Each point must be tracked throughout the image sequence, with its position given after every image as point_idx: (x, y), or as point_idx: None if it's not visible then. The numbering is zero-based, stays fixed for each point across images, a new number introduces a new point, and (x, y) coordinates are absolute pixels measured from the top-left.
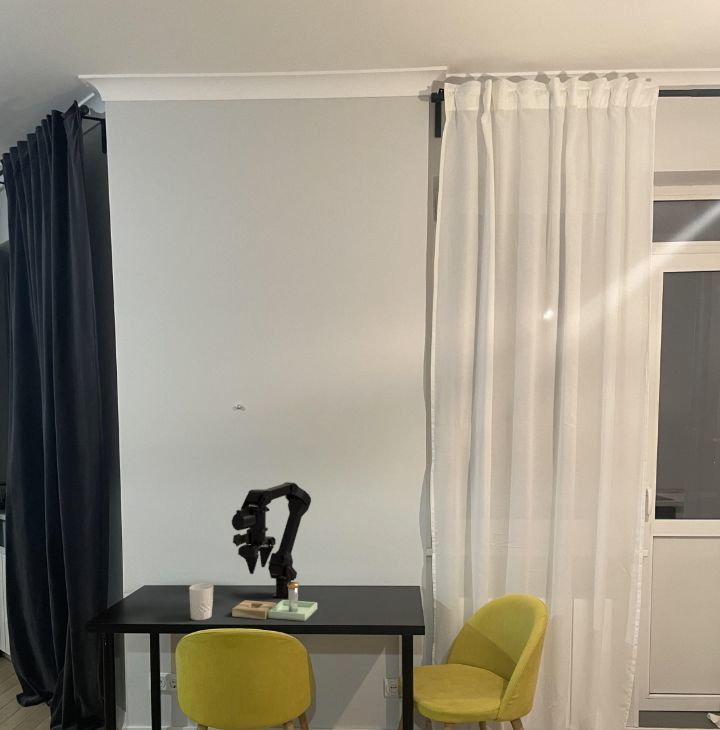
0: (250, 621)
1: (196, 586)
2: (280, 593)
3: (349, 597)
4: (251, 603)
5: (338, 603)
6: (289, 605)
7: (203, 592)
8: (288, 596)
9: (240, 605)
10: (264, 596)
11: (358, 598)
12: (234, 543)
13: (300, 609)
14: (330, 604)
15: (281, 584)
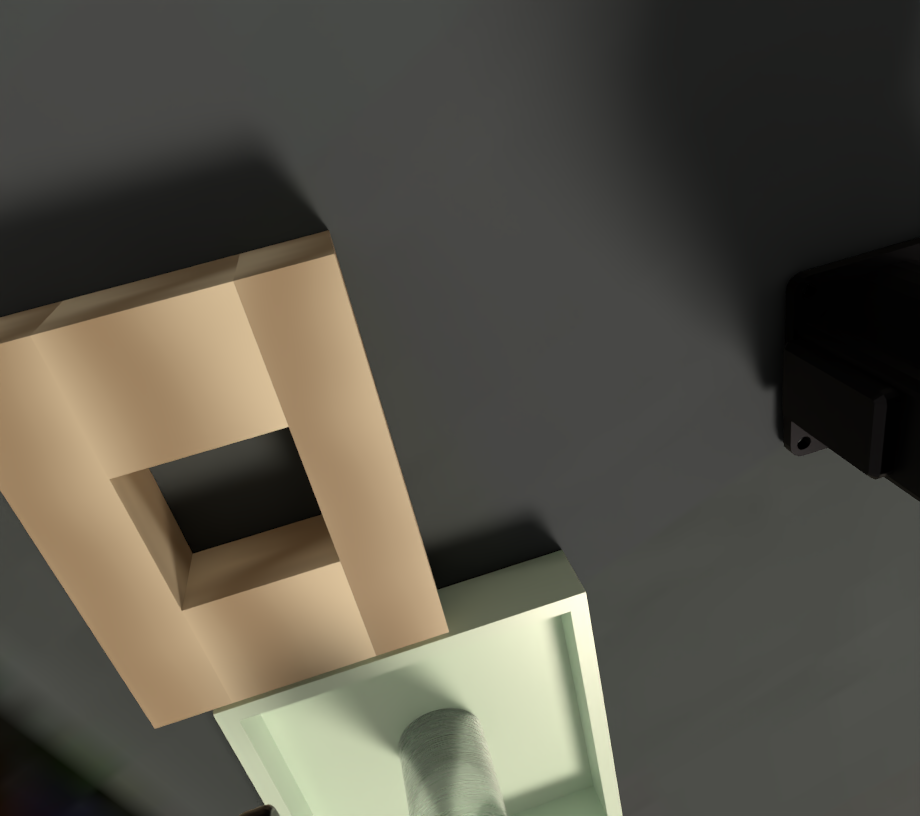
0: (15, 604)
1: None
2: (803, 406)
3: (896, 762)
4: (286, 426)
5: (762, 789)
6: (410, 796)
7: None
8: (809, 449)
9: (116, 366)
10: (803, 158)
11: (884, 806)
12: None
13: (512, 743)
14: (728, 770)
15: (898, 454)
